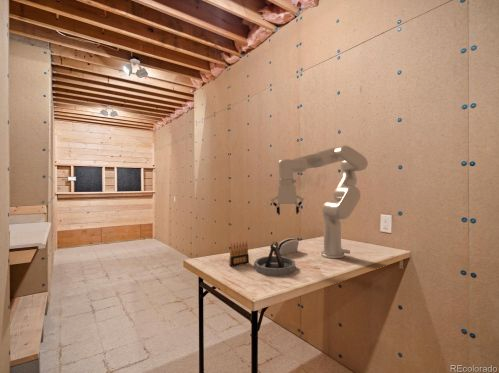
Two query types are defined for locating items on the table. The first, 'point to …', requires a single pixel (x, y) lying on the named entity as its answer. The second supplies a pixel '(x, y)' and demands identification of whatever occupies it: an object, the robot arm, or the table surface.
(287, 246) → the white electronic device
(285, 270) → the round tray
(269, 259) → the phone stand
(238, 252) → the ammunition clip
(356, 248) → the table surface
